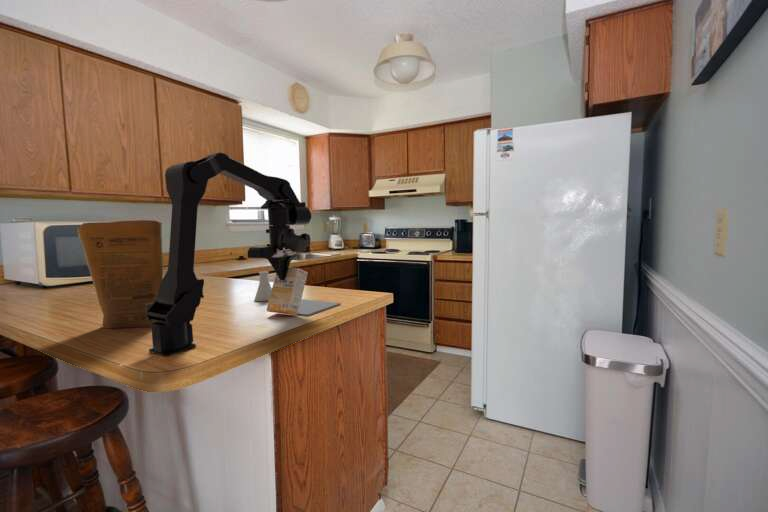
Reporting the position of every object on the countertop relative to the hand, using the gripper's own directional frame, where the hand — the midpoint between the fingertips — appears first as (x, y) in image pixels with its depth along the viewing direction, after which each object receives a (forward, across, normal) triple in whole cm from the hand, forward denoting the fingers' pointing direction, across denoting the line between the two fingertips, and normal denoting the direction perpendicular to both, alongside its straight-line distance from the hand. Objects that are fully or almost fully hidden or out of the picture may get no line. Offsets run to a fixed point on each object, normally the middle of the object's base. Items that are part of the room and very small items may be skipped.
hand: (282, 280), depth 99 cm
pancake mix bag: (+10, -25, +30) cm, 41 cm away
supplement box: (+10, -1, 0) cm, 10 cm away
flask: (+11, +14, +23) cm, 29 cm away
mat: (+10, +10, +1) cm, 14 cm away
